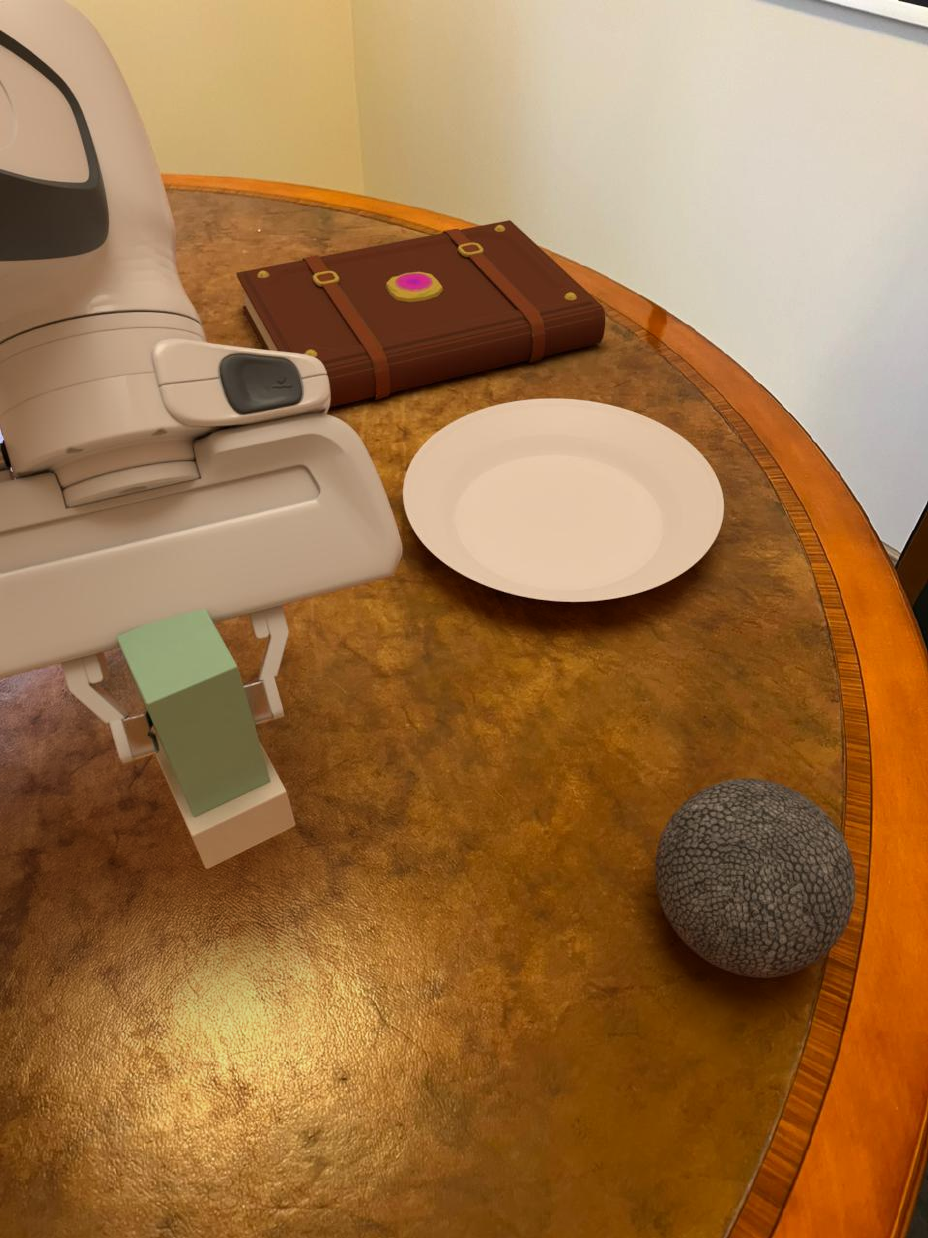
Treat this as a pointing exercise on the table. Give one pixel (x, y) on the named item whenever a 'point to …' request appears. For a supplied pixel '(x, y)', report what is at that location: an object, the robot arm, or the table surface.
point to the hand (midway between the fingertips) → (206, 738)
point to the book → (421, 309)
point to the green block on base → (206, 735)
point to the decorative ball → (755, 878)
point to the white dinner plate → (563, 500)
